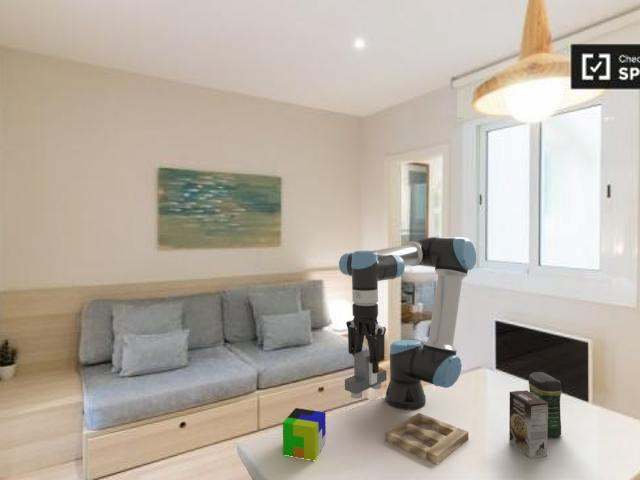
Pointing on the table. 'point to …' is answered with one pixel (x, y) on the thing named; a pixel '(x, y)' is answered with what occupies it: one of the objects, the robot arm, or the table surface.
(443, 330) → the robot arm
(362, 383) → the grey stepped block
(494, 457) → the table surface
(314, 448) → the puzzle toy
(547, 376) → the coffee jar
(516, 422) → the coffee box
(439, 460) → the keyhole board
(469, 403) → the table surface
